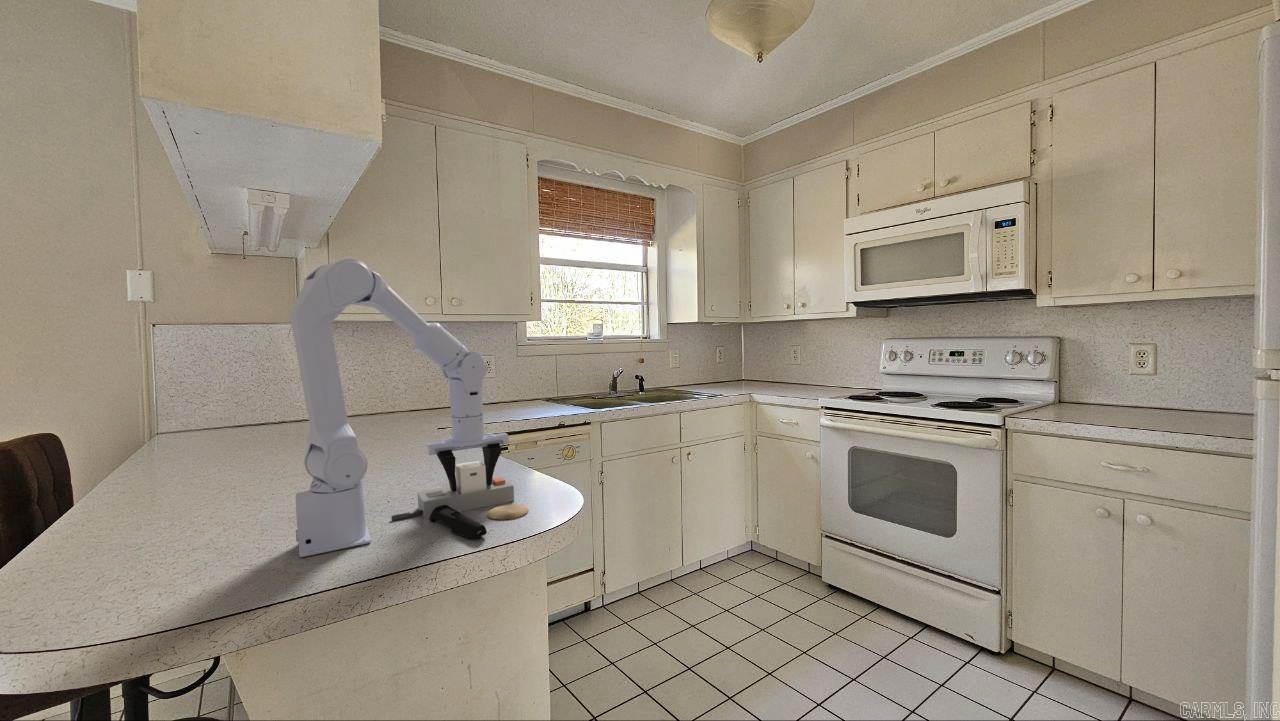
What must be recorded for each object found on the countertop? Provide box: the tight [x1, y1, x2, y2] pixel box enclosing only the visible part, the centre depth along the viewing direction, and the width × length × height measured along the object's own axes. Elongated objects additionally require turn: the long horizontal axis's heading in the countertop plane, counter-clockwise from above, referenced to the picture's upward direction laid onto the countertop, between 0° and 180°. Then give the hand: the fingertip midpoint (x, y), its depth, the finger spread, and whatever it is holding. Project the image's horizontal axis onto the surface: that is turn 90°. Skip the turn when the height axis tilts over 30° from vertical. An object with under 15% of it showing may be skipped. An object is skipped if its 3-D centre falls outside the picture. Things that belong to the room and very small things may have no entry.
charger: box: [455, 460, 487, 494], centre depth 102 cm, size 4×5×6 cm
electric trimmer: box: [429, 505, 488, 540], centre depth 89 cm, size 4×16×3 cm, turn 44°
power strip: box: [390, 477, 515, 522], centre depth 101 cm, size 21×7×4 cm, turn 121°
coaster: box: [487, 503, 529, 521], centre depth 96 cm, size 7×7×1 cm
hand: (471, 486), depth 102 cm, fingers open, 6 cm apart
